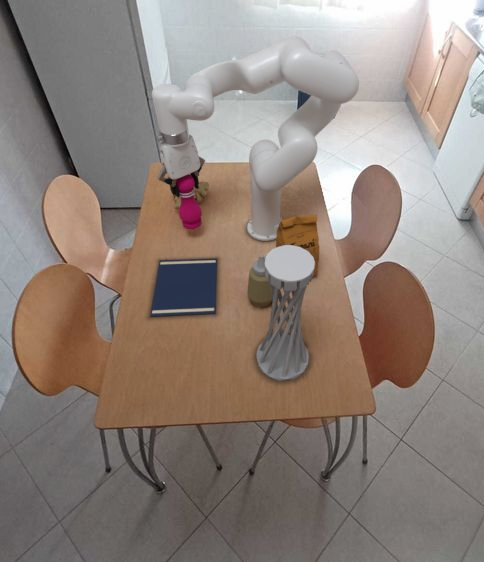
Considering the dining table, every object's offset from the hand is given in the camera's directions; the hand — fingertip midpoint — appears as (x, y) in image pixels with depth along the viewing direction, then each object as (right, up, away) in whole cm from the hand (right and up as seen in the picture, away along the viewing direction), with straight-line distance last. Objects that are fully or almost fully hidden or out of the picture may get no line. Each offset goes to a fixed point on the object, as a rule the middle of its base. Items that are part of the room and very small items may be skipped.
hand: (185, 190), depth 119 cm
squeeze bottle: (+23, -33, -5) cm, 41 cm away
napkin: (+1, -29, -2) cm, 29 cm away
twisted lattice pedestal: (+29, -47, -17) cm, 58 cm away
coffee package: (+34, -25, +3) cm, 42 cm away
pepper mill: (0, -9, +10) cm, 13 cm away
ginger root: (-5, +3, +27) cm, 28 cm away
